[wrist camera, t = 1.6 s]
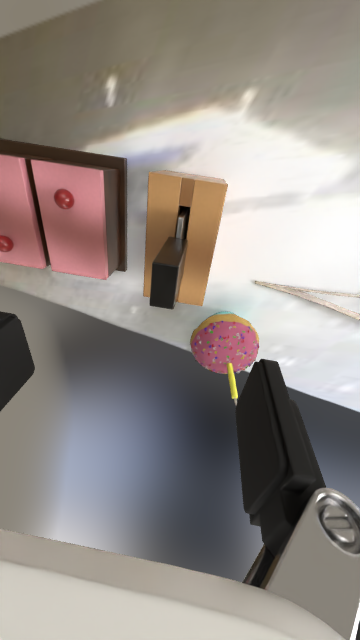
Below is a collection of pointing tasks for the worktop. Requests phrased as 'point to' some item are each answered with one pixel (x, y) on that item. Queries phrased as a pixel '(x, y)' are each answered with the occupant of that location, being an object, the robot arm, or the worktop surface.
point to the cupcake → (225, 345)
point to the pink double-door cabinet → (63, 209)
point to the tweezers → (314, 299)
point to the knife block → (205, 214)
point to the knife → (170, 266)
